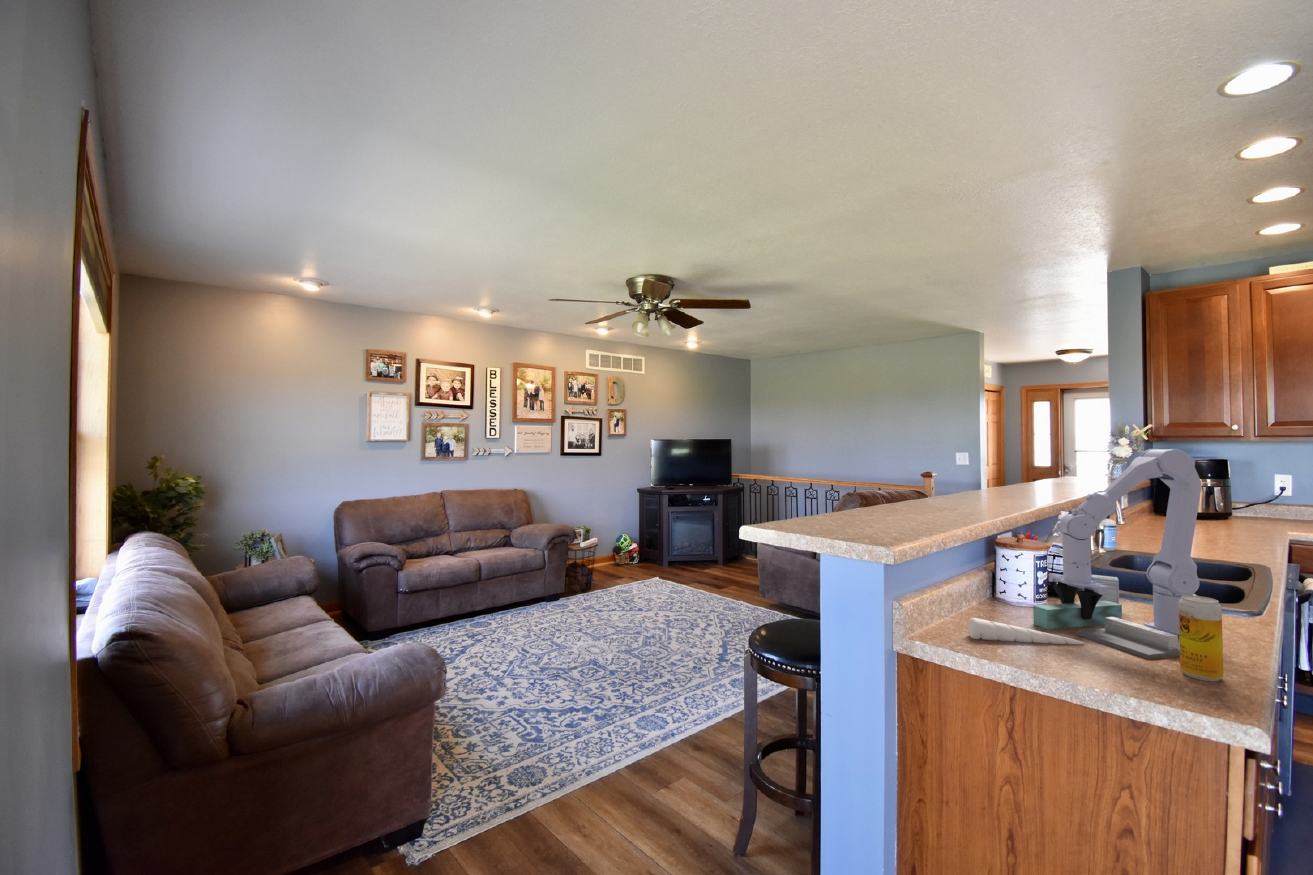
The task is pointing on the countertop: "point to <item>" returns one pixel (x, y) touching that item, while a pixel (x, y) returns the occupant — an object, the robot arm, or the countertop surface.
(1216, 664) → the beer can
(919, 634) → the countertop surface
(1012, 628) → the unicorn horn
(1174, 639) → the ridge stand
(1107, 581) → the medicine box
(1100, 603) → the teal wavy bar
